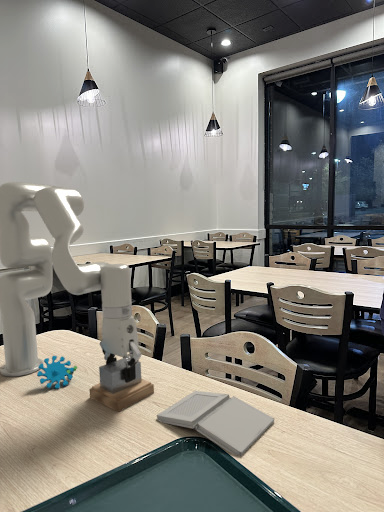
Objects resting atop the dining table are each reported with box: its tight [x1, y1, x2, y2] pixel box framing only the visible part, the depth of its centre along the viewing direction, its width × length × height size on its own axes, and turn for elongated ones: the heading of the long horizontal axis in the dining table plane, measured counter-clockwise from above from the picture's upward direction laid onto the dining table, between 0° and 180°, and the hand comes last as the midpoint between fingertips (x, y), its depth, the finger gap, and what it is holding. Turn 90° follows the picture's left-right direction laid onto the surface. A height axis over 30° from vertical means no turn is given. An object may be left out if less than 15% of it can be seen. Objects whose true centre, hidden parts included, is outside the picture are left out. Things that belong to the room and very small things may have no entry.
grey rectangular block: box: [98, 357, 142, 394], centre depth 94 cm, size 9×6×6 cm, turn 136°
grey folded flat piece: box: [155, 390, 275, 457], centre depth 81 cm, size 23×15×4 cm, turn 51°
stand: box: [88, 378, 155, 413], centre depth 94 cm, size 12×12×3 cm
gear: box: [36, 355, 78, 390], centre depth 104 cm, size 11×6×10 cm
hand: (121, 376), depth 94 cm, fingers open, 7 cm apart
